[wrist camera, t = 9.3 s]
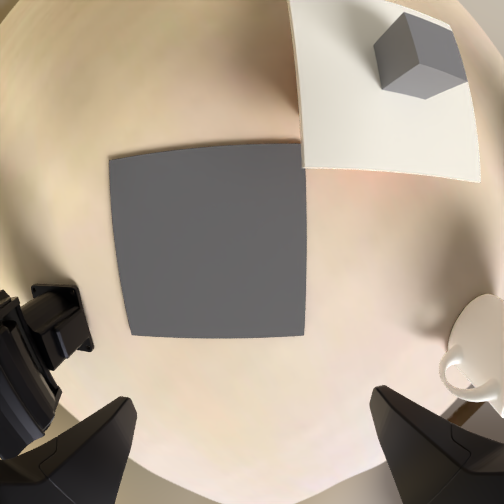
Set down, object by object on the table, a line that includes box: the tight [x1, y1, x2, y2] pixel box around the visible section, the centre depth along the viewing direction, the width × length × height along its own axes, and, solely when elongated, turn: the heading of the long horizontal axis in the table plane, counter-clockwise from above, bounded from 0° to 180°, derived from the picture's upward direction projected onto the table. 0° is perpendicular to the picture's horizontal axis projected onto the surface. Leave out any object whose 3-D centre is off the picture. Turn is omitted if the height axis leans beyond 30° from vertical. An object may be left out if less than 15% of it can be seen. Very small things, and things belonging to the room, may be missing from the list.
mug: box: [439, 294, 504, 418], centre depth 16 cm, size 9×12×11 cm
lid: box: [287, 0, 481, 183], centre depth 9 cm, size 12×12×5 cm
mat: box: [109, 144, 307, 338], centre depth 19 cm, size 14×14×1 cm
